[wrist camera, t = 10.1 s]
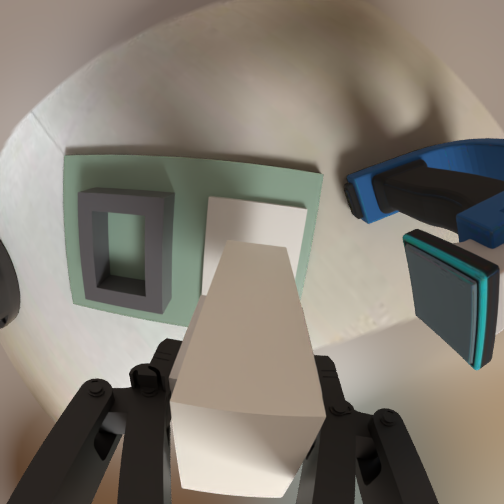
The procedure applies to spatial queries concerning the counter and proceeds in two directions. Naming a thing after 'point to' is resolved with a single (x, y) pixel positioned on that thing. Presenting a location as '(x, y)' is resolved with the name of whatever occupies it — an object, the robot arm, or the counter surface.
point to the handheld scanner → (438, 250)
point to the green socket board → (175, 227)
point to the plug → (247, 380)
